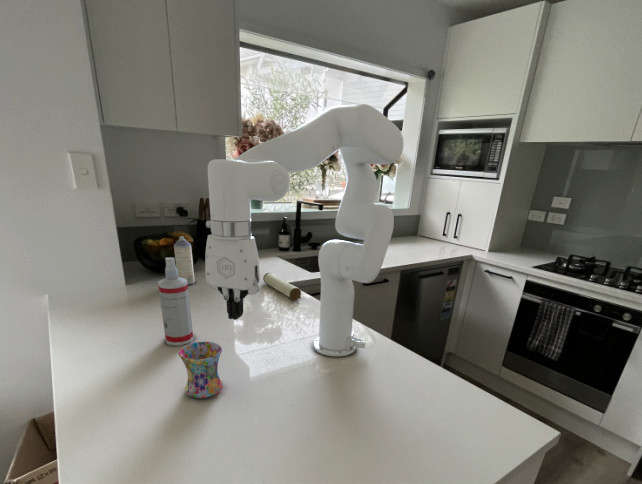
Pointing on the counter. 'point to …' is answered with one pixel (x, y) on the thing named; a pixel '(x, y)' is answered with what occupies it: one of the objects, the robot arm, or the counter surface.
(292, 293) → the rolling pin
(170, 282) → the spray bottle
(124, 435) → the counter surface
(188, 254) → the aerosol can
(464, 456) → the counter surface
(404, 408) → the counter surface
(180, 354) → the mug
